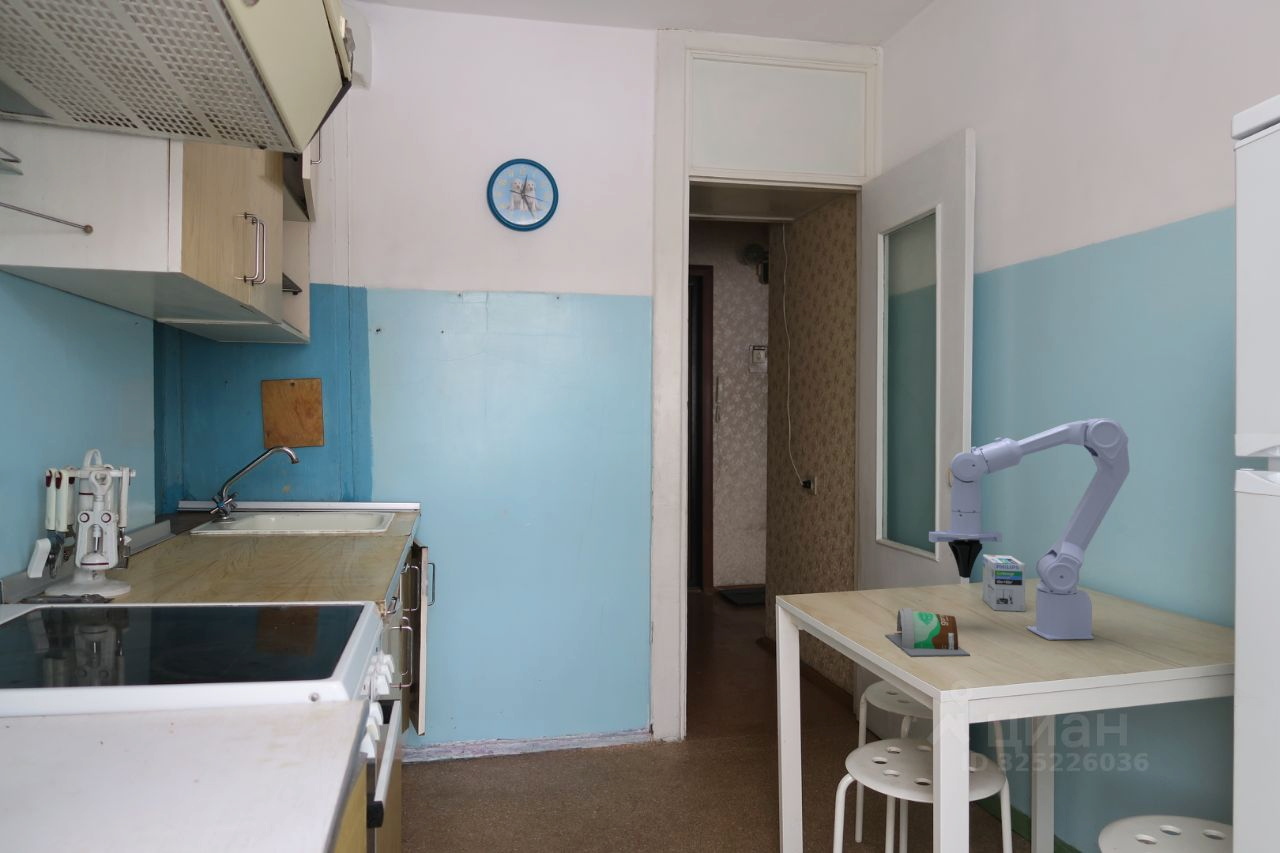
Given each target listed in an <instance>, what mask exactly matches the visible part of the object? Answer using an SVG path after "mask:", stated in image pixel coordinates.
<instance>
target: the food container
mask: <svg viewBox="0 0 1280 853" xmlns="http://www.w3.org/2000/svg"><path fill="white" fill-rule="evenodd" d="M896 618H897V620H896V632H901V634H902V648H907V649H914V648H920V649H947V650H958V647H959V634H958V633H959V632H958V625H957V620H956V617H955V616H954V615H947V614H939V613H938V614H937V613H933V612H932V613H931V612H923V611H914V610H912V608H911V607H904V608H903V607H902V608H901V609H898V611H897V617H896Z"/></svg>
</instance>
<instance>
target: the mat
mask: <svg viewBox="0 0 1280 853" xmlns="http://www.w3.org/2000/svg"><path fill="white" fill-rule="evenodd" d="M884 635H885V637H886V638H887V640H889V641H890V642H892V643H893V644H895V645H896V646H897V647H898V648H899V649H900V650H902V651H903V652H904V653H906V654H907V655H908V657H911V658H914V657H918V658H919V657H921V658H923V657H968V656H969V657H970V656H971V654H970V653H969V652H968V651H966V650H965V649H963V648H961V647H960V646H958V650H947V649H920V648H914V649H907V648H902V633H901V634H893V633H892V634H891V633H890V634H884Z"/></svg>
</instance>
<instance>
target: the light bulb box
mask: <svg viewBox="0 0 1280 853" xmlns="http://www.w3.org/2000/svg"><path fill="white" fill-rule="evenodd" d="M982 600H983V601H984V602H985V603H986V604H987V605H988V606H990V608H992V609H993V610H994V611H1001V612H1002V611H1003V612H1004V611H1005V612H1006V611H1007V612H1008V611H1010V612H1023V613H1024V612H1025V611H1026V564H1025V563H1024V562H1022V561H1020V560H1019V559H1017V558H1015V557H1014V556H1012V555H999V554H998V555H997V554H996V555H995V554H982Z"/></svg>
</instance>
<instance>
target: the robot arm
mask: <svg viewBox="0 0 1280 853" xmlns="http://www.w3.org/2000/svg"><path fill="white" fill-rule="evenodd" d="M1065 444H1066V445H1067V444H1068V445H1074V446H1083V447H1084V448H1085V449H1086V450H1087V451H1088V453H1090V455H1091V458H1092V459H1093V462H1094V464H1095V466H1096V469H1097V470H1096V472H1095V474H1094V475H1093V477H1092V479H1091V480H1090V482H1089V484H1088V485H1087V488H1086V489H1085V492H1084V493H1083V495H1082V496H1081V499H1080V501H1079V502H1078V504H1077V506H1076V507H1075V509H1074V511H1073V513H1072V515H1071V517H1070V518H1069V520H1068V521H1067V524H1066V526H1065V528H1064V529H1063V531H1062V533H1061V535H1060V536H1059V538H1058V539H1057V540H1056V541H1055V542H1054V543H1053V544H1052V545H1051V546H1050V549H1049V550H1048V551H1047V552H1046V553H1043V555H1041V556H1040V557H1039V558H1038V560H1037V561H1036V565H1035V570H1036V573H1037V575H1038V576H1039V578H1040V581H1039V583H1037V584H1036V598H1035V599H1036V600H1035V602H1036V604H1035V605H1036V606H1035V625H1033V626H1032V625H1027V626H1026V629H1027V630H1029V631H1031V632H1033V633H1034V634H1037V635H1039V636H1041V637H1042V638H1043V639H1046V640H1051V641H1052V640H1093V639H1095V637H1094V636H1093V635H1092V634H1093V632H1092V629H1093V628H1092V625H1093V604H1092V601H1091V598H1090V596H1089V594H1088V593H1087V592H1086V591H1085V590H1082V589H1078V588H1077V586H1078V584H1079V581H1080V571H1081V568H1082V566H1083V564H1084V559H1085V553H1086V550H1087V548H1088V546H1089V545H1090V544H1091V541H1092V540H1093V537H1094V536H1095V534H1096V533H1097V530H1098V529H1099V527H1100V526H1101V524H1102V522H1103V521H1104V520H1103V519H1104V518H1105V516H1106V514H1107V513H1108V512H1109V509H1110V508H1111V506H1112V504H1113V502H1114V500H1115V498H1116V497H1117V495H1118V493H1119V491H1120V490H1121V488H1122V486H1123V484H1124V483H1125V481H1126V479H1127V477H1128V476H1129V473H1130V468H1131V467H1130V460H1129V459H1130V458H1129V449H1128V444H1129V437H1128V436H1127V434H1126V432H1125V430H1124V428H1123V427H1122V426H1121V424H1120V423H1119V422H1117V421H1116V420H1115V419H1112V418H1108V417H1107V418H1106V417H1105V418H1103V417H1102V418H1101V417H1089V418H1087V419H1084V420H1077V421H1072V422H1067V423H1063V424H1061V425H1058V426H1055V427H1052V428H1050V429H1047V430H1045V431H1041V432H1038V433H1036V434H1033V435H1031V436H1028V437H1025V438H1023V439H1020V440H1018V441H1016V440H1014V439H1011V438H1008V437H1006V438H1002V437H996V438H994V440H993V442H991V443H988V444H985V445H982V446H978V447H976V446H972V447H970V451H971V452H969V451H961V452H959V453H957V454H955V455H954V457H953V458H952V459H951V461H950V464H949V470H950V472H951V473H952V476H951V477H952V478H951V487H950V529H949V530H939V531H928V542H931V543H932V544H933V543H948V546H949V548H950V551H951V552H952V554H953V557H954V559H955V563H956V565H957V571H958V575H959V577H961V578H963V579H969V578H971V575H972V570H973V568H974V565H975V563H976V560H977V557H978V556H979V554H980V553H981V552H982V551H983V543H981V542H984V543H985V542H986V543H987V542H996V543H1002V542H1003V532H1001V531H996V530H995V531H994V530H993V531H992V530H991V531H990V530H981V522H982V520H981V518H982V517H981V516H982V515H981V514H982V513H981V510H982V506H981V505H982V489H981V477H982V475H984V474H985V475H990V474H993V473H996V472H999V471H1003V470H1005V469H1008V468H1011V467H1012V468H1013V467H1015V466H1017V465H1019V464H1020V462H1021V460H1022V458H1023V457H1024V456H1028V455H1031V454H1034V453H1038V452H1040V451H1045V450H1047V449H1050V448H1055V447H1058V446H1061V445H1065Z"/></svg>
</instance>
